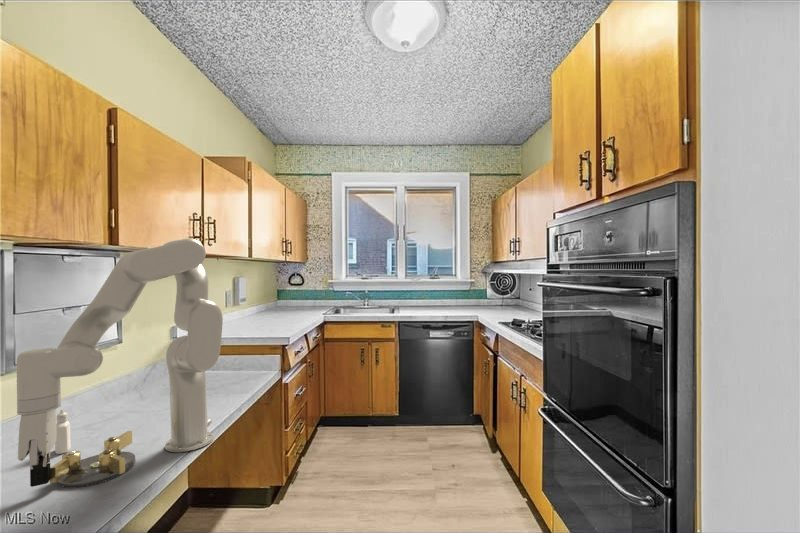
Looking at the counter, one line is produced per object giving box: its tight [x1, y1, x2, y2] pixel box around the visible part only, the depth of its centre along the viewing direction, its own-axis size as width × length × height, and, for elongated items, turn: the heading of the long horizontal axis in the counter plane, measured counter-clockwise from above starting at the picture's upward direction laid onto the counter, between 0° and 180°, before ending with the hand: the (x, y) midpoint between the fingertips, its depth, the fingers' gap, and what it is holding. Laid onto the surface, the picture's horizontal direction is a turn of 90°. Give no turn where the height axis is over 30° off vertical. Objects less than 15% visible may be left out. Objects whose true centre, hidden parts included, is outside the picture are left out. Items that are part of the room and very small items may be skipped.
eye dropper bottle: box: [54, 408, 72, 455], centre depth 117 cm, size 4×6×12 cm
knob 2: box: [103, 430, 133, 455], centre depth 112 cm, size 9×4×5 cm, turn 0°
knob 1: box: [49, 449, 82, 484], centre depth 98 cm, size 9×4×5 cm, turn 10°
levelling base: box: [56, 451, 136, 488], centre depth 104 cm, size 16×16×2 cm
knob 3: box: [98, 449, 126, 475], centre depth 100 cm, size 9×4×5 cm, turn 60°
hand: (40, 483), depth 93 cm, fingers closed
